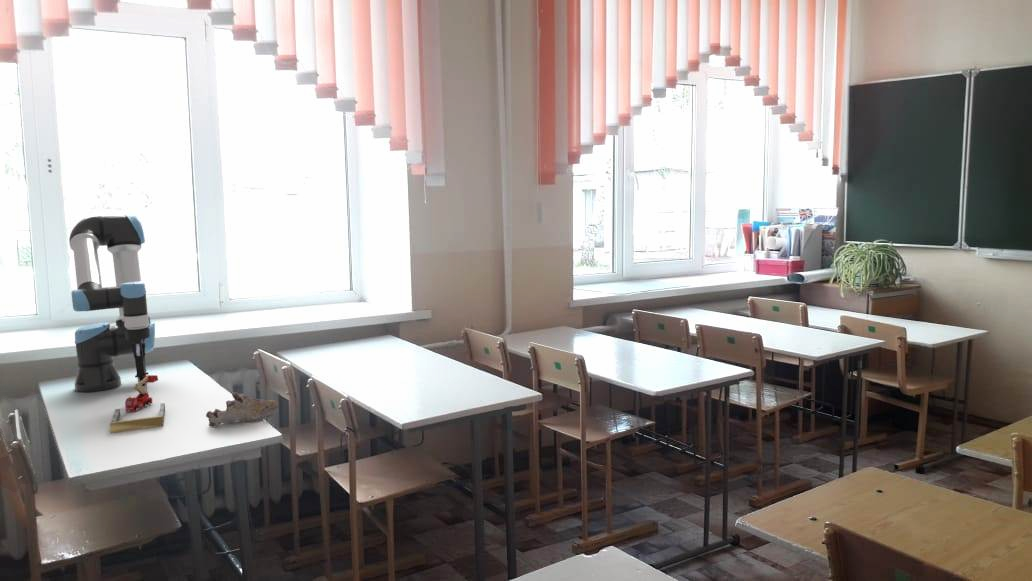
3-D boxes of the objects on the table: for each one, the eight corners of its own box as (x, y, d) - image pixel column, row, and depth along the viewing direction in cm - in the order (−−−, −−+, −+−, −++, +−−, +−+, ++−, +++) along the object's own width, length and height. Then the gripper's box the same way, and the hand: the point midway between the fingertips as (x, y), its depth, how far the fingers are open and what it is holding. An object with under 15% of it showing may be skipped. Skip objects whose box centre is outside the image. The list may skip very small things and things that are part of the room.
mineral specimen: (217, 416, 228) (211, 388, 232) (206, 434, 233) (200, 406, 238) (283, 412, 242) (275, 385, 246) (270, 429, 247) (263, 402, 252)
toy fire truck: (124, 412, 253) (121, 384, 252) (151, 400, 266) (149, 373, 265) (133, 413, 252) (130, 384, 251) (160, 401, 266) (157, 373, 264)
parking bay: (116, 416, 249) (115, 407, 248) (165, 410, 254) (164, 401, 254) (110, 433, 232) (109, 423, 232) (163, 426, 238) (162, 416, 237)
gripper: (126, 325, 268) (133, 391, 271) (123, 331, 256) (130, 400, 259) (150, 323, 271) (156, 388, 274) (148, 329, 259) (154, 397, 262)
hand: (143, 394), depth 267 cm, fingers closed
